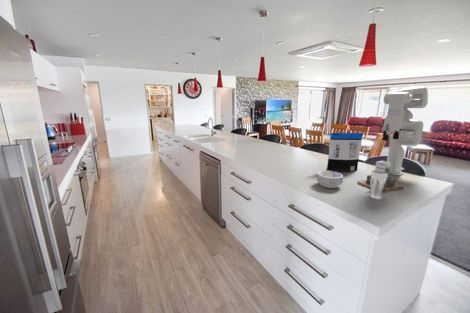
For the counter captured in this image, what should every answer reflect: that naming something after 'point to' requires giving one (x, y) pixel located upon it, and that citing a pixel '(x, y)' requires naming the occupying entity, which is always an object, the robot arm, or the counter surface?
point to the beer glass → (377, 184)
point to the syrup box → (383, 167)
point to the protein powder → (344, 152)
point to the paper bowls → (329, 179)
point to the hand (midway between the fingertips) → (390, 139)
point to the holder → (388, 186)
